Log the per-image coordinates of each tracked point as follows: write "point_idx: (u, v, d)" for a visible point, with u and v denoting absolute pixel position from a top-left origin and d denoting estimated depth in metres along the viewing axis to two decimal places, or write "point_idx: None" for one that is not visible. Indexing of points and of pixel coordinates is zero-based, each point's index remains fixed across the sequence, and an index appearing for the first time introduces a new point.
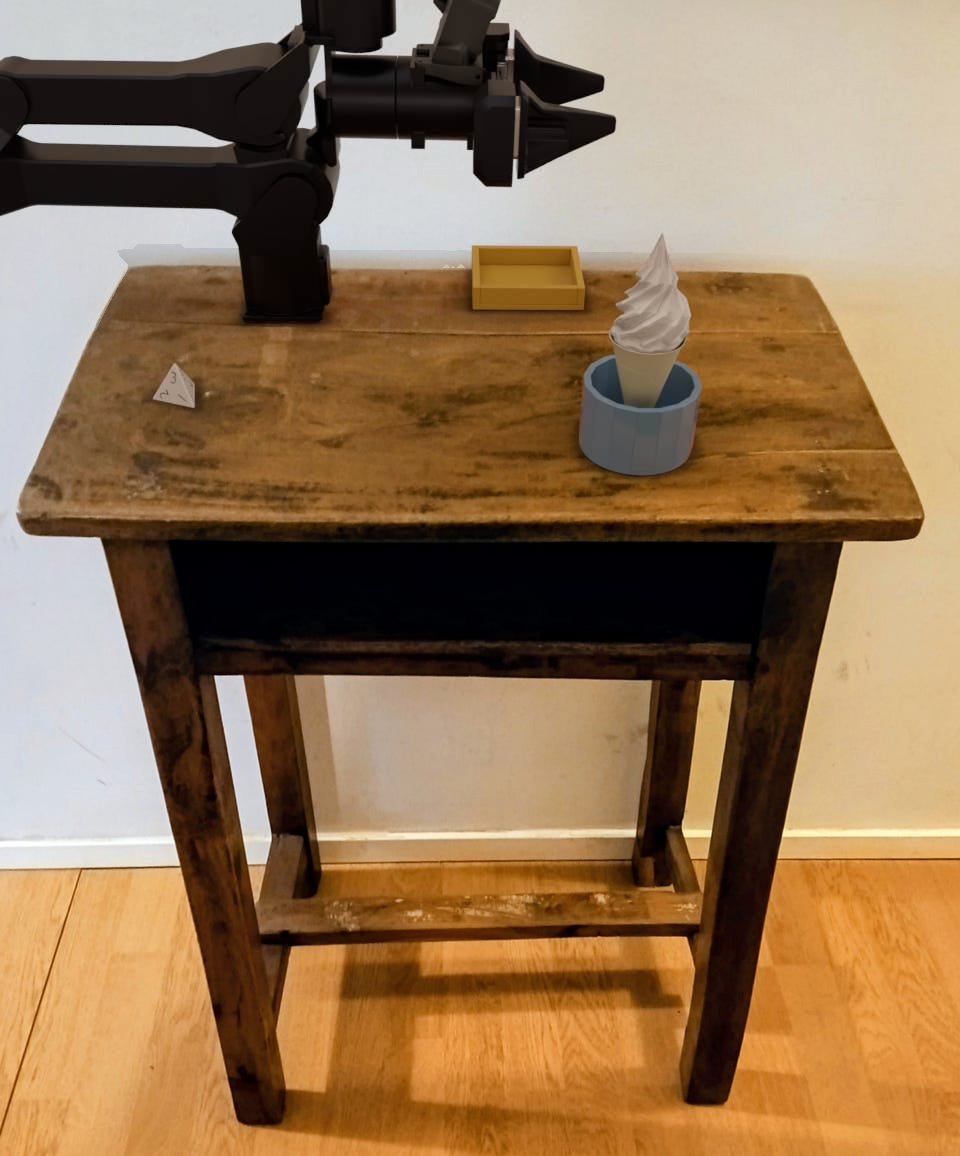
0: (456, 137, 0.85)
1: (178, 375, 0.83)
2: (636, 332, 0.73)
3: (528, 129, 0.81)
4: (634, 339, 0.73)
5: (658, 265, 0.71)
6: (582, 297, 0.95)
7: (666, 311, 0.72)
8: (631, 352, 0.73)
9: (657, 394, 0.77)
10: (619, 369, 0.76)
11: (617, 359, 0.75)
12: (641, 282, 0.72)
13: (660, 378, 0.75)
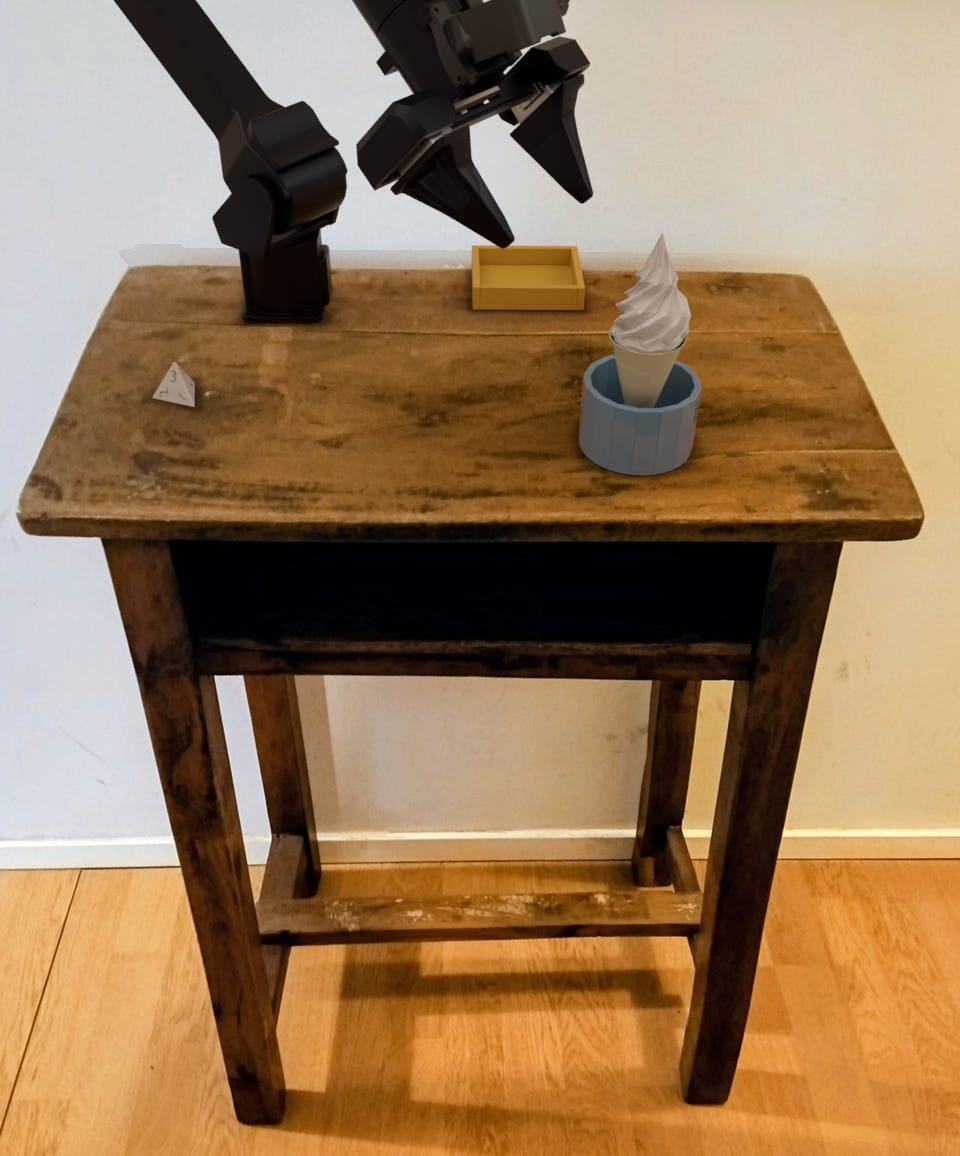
0: None
1: (178, 374, 0.83)
2: (636, 332, 0.73)
3: (441, 165, 0.71)
4: (634, 339, 0.73)
5: (658, 265, 0.71)
6: (582, 297, 0.95)
7: (666, 311, 0.72)
8: (631, 352, 0.73)
9: (657, 394, 0.77)
10: (619, 369, 0.76)
11: (617, 359, 0.75)
12: (641, 282, 0.72)
13: (660, 378, 0.75)
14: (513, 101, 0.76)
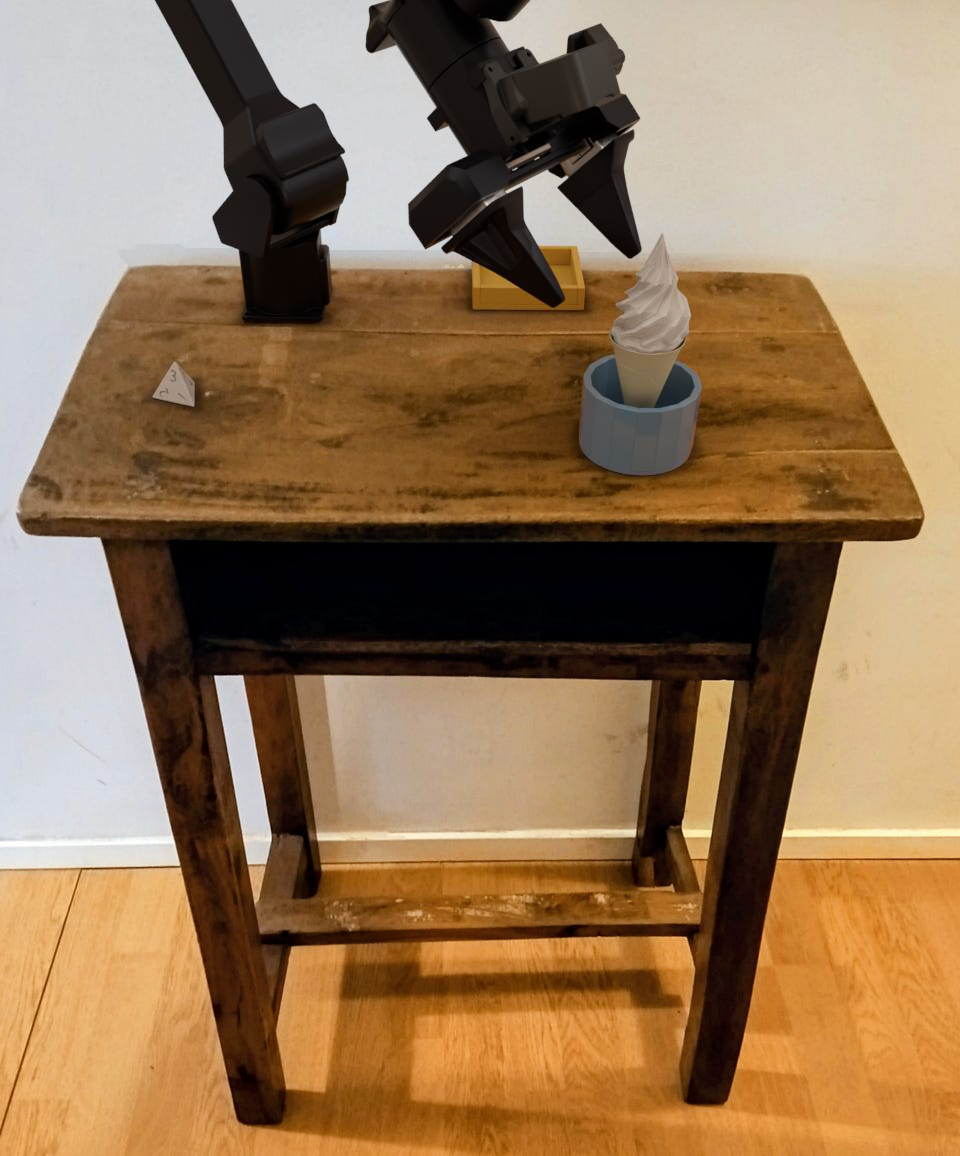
0: (466, 154, 0.74)
1: (178, 373, 0.83)
2: (636, 332, 0.73)
3: (492, 225, 0.71)
4: (634, 339, 0.73)
5: (658, 265, 0.71)
6: (582, 297, 0.95)
7: (666, 311, 0.72)
8: (631, 352, 0.73)
9: (657, 394, 0.77)
10: (619, 369, 0.76)
11: (617, 359, 0.75)
12: (641, 282, 0.72)
13: (660, 378, 0.75)
14: (563, 157, 0.76)
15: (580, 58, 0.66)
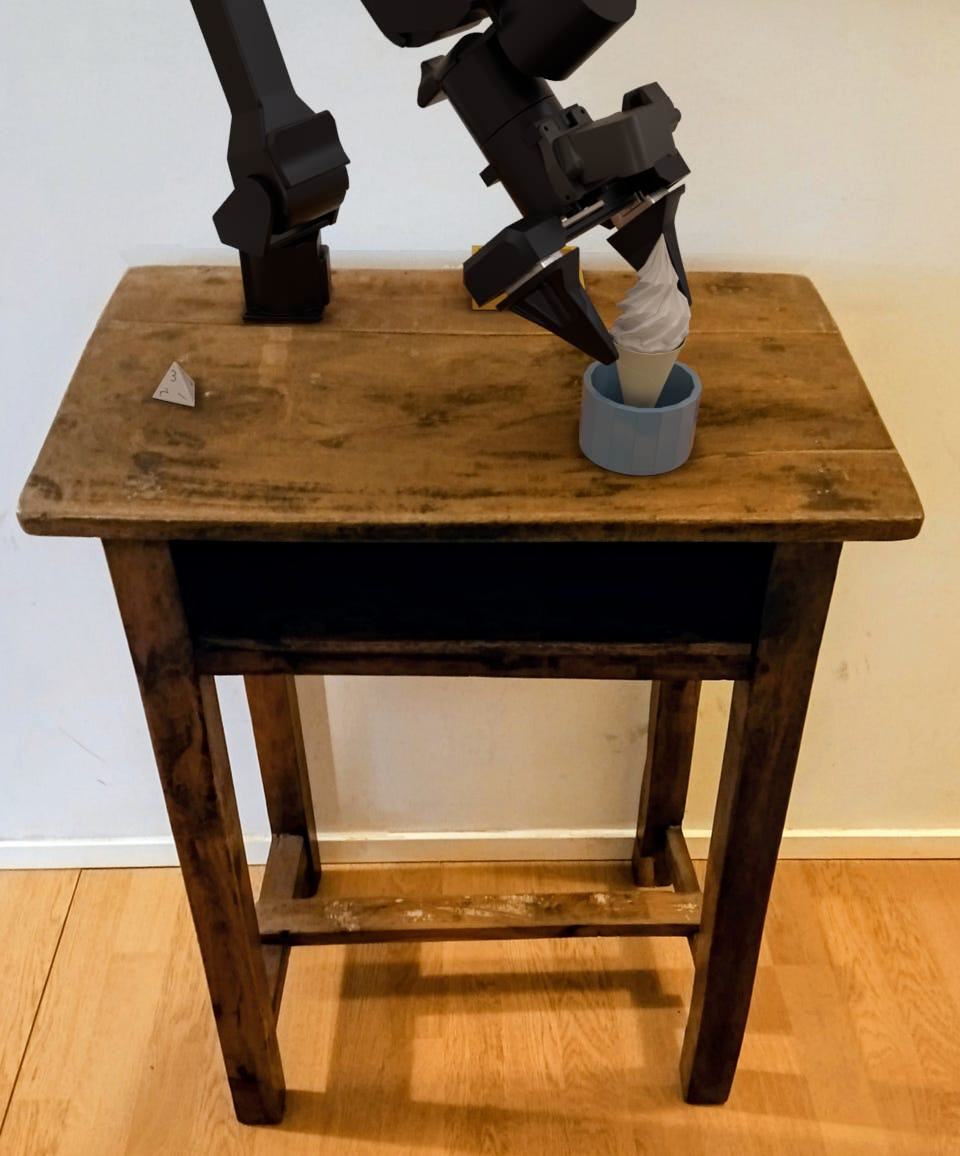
0: None
1: (178, 373, 0.83)
2: (636, 332, 0.73)
3: (547, 284, 0.71)
4: (634, 339, 0.73)
5: (658, 265, 0.71)
6: None
7: (666, 311, 0.72)
8: (631, 352, 0.73)
9: (657, 394, 0.77)
10: (619, 369, 0.76)
11: None
12: (641, 282, 0.72)
13: (660, 378, 0.75)
14: (615, 212, 0.75)
15: (639, 120, 0.66)
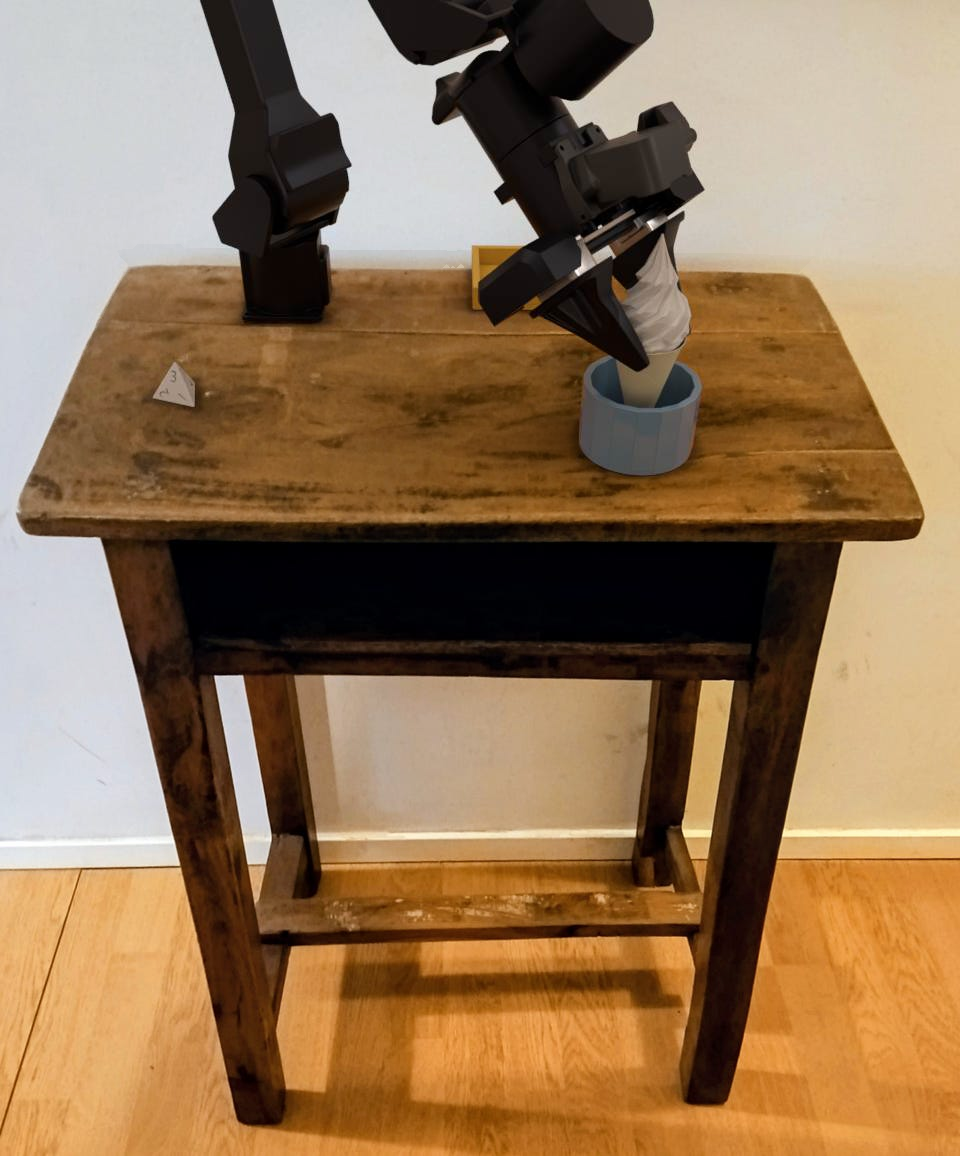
0: (533, 228, 0.74)
1: (178, 374, 0.83)
2: (636, 332, 0.73)
3: (580, 292, 0.72)
4: None
5: (658, 265, 0.71)
6: None
7: (667, 311, 0.72)
8: None
9: (657, 394, 0.77)
10: (619, 369, 0.76)
11: None
12: (642, 282, 0.72)
13: (660, 378, 0.75)
14: (629, 230, 0.75)
15: (655, 141, 0.66)
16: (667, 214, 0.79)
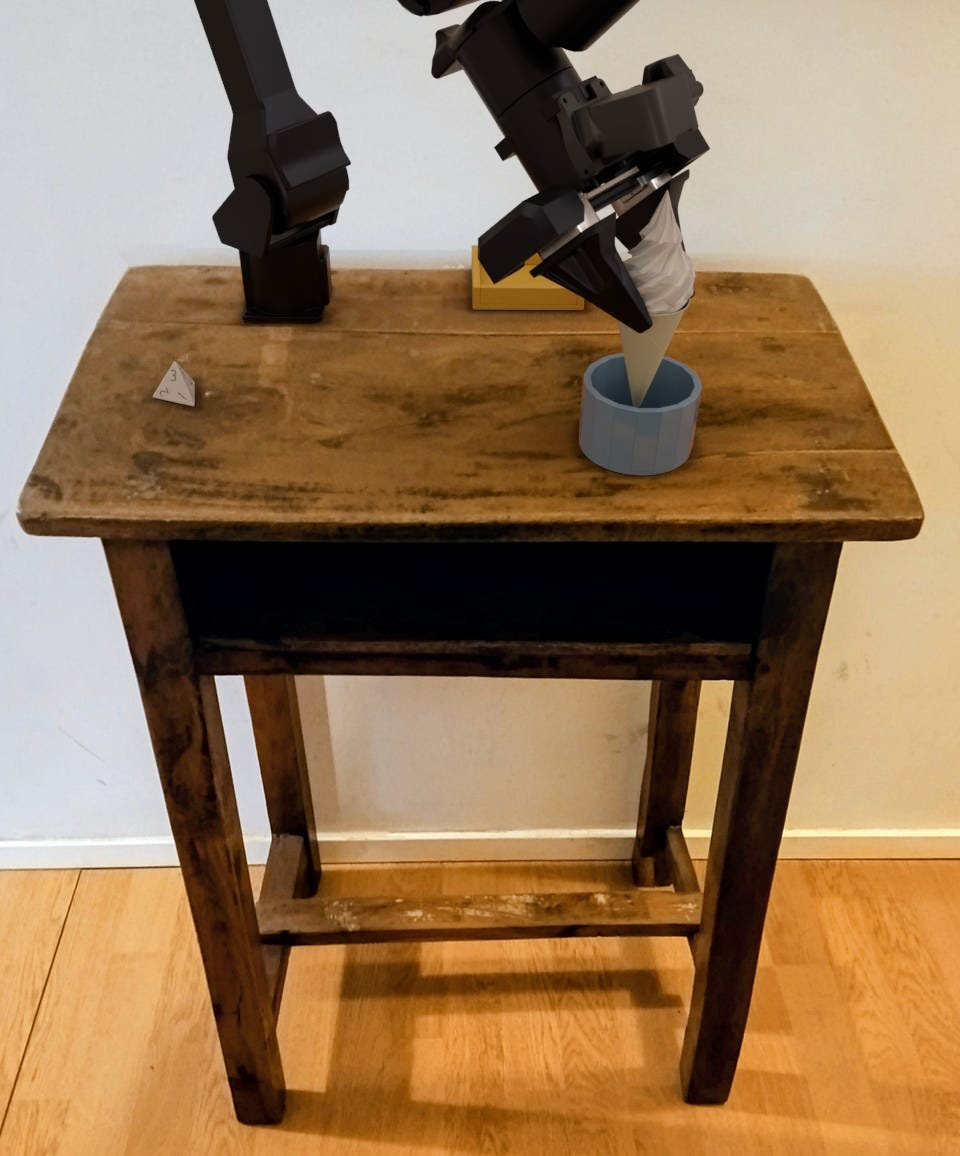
0: (534, 185, 0.72)
1: (178, 373, 0.83)
2: (639, 292, 0.71)
3: (582, 250, 0.70)
4: None
5: (662, 222, 0.69)
6: None
7: (671, 270, 0.70)
8: None
9: (660, 358, 0.75)
10: (621, 331, 0.74)
11: (619, 321, 0.74)
12: (645, 241, 0.70)
13: (663, 341, 0.74)
14: (632, 188, 0.74)
15: (661, 92, 0.64)
16: (671, 174, 0.77)
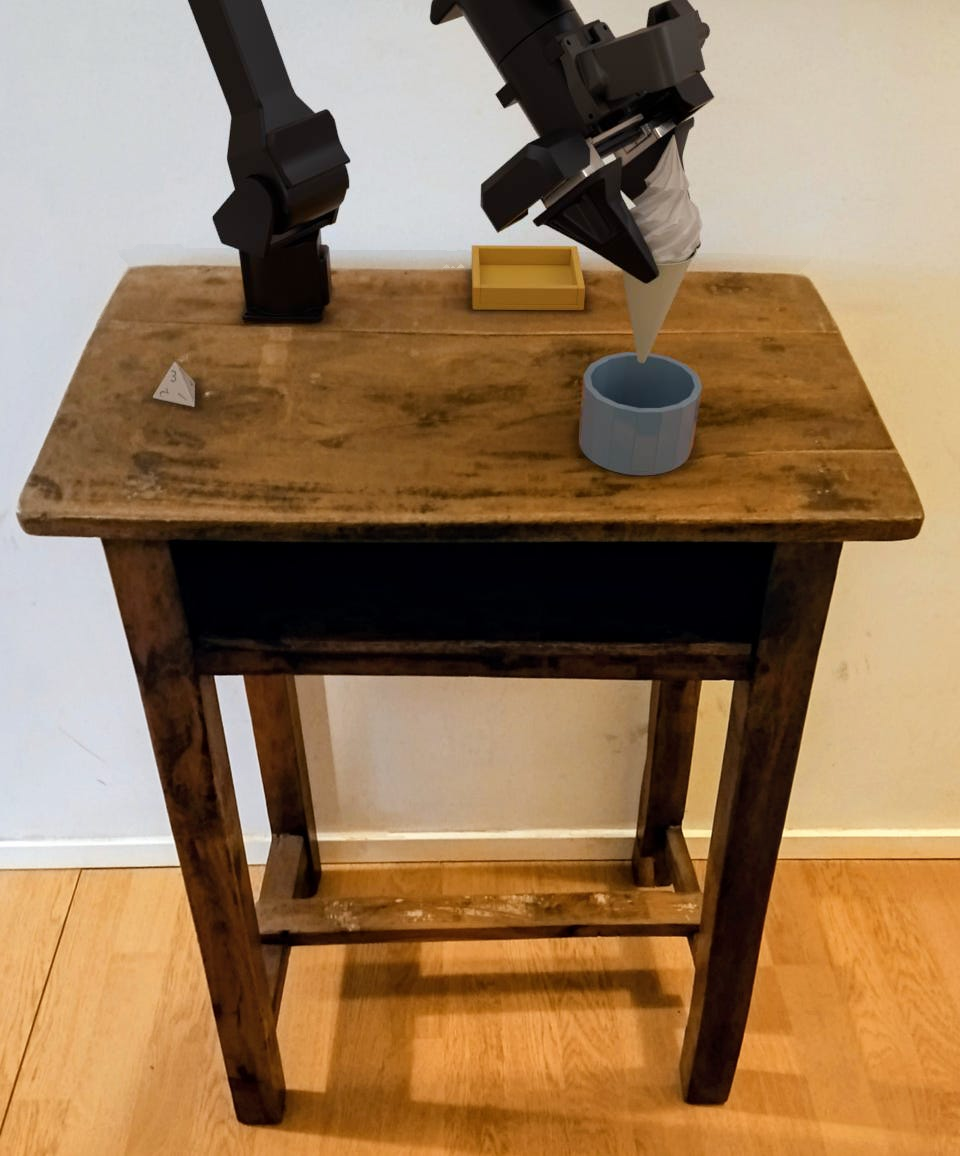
0: None
1: (178, 374, 0.83)
2: (645, 241, 0.69)
3: (586, 197, 0.69)
4: None
5: (669, 169, 0.68)
6: (582, 297, 0.95)
7: (677, 218, 0.69)
8: None
9: (665, 310, 0.74)
10: (626, 283, 0.73)
11: (624, 272, 0.72)
12: (651, 188, 0.69)
13: (669, 292, 0.72)
14: (636, 137, 0.72)
15: (668, 31, 0.63)
16: (674, 125, 0.76)
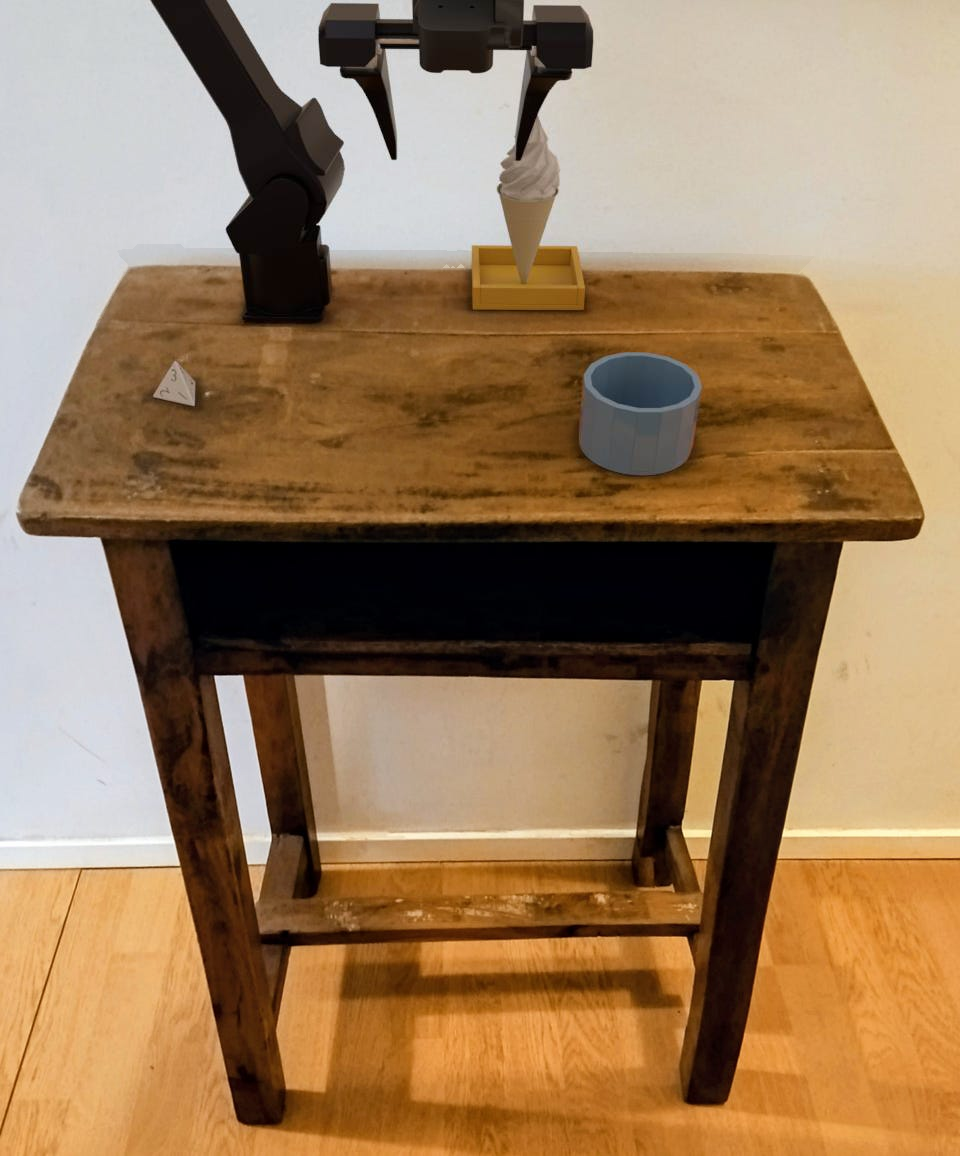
0: None
1: (178, 373, 0.83)
2: (539, 184, 0.91)
3: None
4: (534, 191, 0.91)
5: (536, 126, 0.89)
6: (582, 297, 0.95)
7: (551, 160, 0.91)
8: (536, 202, 0.91)
9: (542, 234, 0.96)
10: (519, 223, 0.93)
11: (517, 215, 0.93)
12: (528, 144, 0.90)
13: (547, 219, 0.94)
14: None
15: (435, 36, 0.72)
16: None
